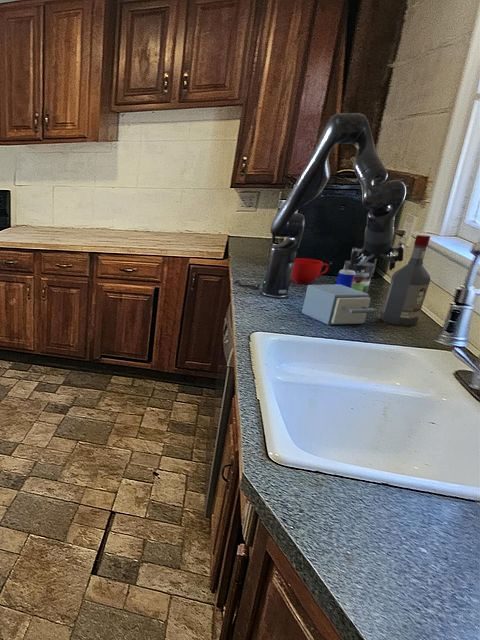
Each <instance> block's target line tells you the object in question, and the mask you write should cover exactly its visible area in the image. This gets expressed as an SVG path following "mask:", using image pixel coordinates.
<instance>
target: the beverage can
mask: <svg viewBox="0 0 480 640" xmlns="http://www.w3.org/2000/svg"><path fill="white" fill-rule="evenodd" d="M354 276H355V271H353V270H345V269H344V268H343V269H340V270H339V271H338V274H337V277H336V282H335V284H341V285H344V286H346V287H349V288H352V284H353V280H354Z"/></svg>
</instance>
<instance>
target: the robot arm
mask: <svg viewBox="0 0 480 640" xmlns="http://www.w3.org/2000/svg"><path fill="white" fill-rule="evenodd" d="M338 144H339V145H340V144H341V145H342V144H343V145H344V144H347V145H348V144H352V145H353V146H354V147H355V148H356V151H357V152H356V154H355V156H354V159H353V163H352V164H353V171H354V173H355V176H356V177H357V180H358V181H359V184H360V187H361V200H362V201H361V203H362V205H363V207H364V208H365V209H367V210H369V211H368V213H367V217H366V227H365V230H364V240H363V247H361V248H357V247H356V246H354V247H352V249H351V254H350V261H351V265H354V264H356V265H357V271H359V272H361V270H362V264H363V263H364V262H369V261H370V260H382V259H384V260H385V261H387V262H389V264H388V270H389V271H392V270H394V269H395V268H396V263H397V262H403V261H404V244H403V242H400V243H398V245H393V240H394V235H395V218H396V215H397V213H398V212H399V210H400V208H401V206H402V205H403V203H404V201H405V198H406V194H407V188H406V184H405V183H404V182H403V181H401V180H399V179H393V180H389V181H386V180H387V179H388V171H387V168H386V167H385V165H384V163H383V161H382V160H381V158H380V156H379V154H378V152H377V149H376V145H375V142H374V137H373V134H372V130H371V126H370V123H369V120H368V118H367V116H366V115H365V114H363V113H359V112H346V113H345V112H339V113H335V114H333V115H332V116H330V118H329V119H328V121H327V122H326V124H325V126H324V128H323V129H322V132H321V134H320V137H319V139H318V140H317V143H316V146H315V147H314V150H313V151H312V153H311V156H310V157H309V159H308V161H307V163H306V165H305V166H304V168H303V170H302V171H301V173H300V174H299V177H298V178H297V179H296V182H295V184H294V186H293V188H292V189H291V191H290V193H289V195H288V196H287V197H286V200H285V201H284V202H283V204H282V205H281V206H280V208H279V209H278V211H277V212H276V213H275V215H274V217H273V218H272V221H271V224H270V228H269V229H270V234H271V235H272V236H273V237H276V238H277V237H278V238H285V239H284V240H283V241H282V242H280V243H277V244H274V245H272V246H271V248H270V254H269V259H268V264H267V268H266V271H265V274H264V278H260V283H258V284H257V285H254V284H243V283H241V282H240V280H235V281H234V284H238V286H241V287H249V288H254V290H259V288H260V287H262V289H261V294H262V295H263V296H265V297H268V298H274V299H285V298H287V297H288V294H289V293H288V292H289V288H290V283H291V280H292V278H291V275H292V271H293V266H294V261H295V258H297V257H296V256H297V252H298V251H299V247H300V244H301V241H302V237H303V233H304V230H305V222H306V220H305V216H304V215H303V213H299V212H297V211H299V210H300V209H301V208H303V207H304V206H306V205H307V204H309V203H310V202H312V201H313V200H315V198H317V197H318V196H319V195H320V194H321V193H322V192H323V190H324V188H325V186H326V185H327V183H328V181H329V180H330V177H331V167H330V161H329V157H330V154H331V152H332V150H333V148H334V147H335V146H336V145H338ZM393 251H395V253H397V255H395V254H394V253H392V252H393ZM360 254H361V255H360Z"/></svg>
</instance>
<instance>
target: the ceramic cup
mask: <svg viewBox="0 0 480 640" xmlns="http://www.w3.org/2000/svg"><path fill="white" fill-rule="evenodd" d="M323 266H326V268H325V270H324V271H322V269H323ZM329 269H330V265H329V264H328V263H324V262H323V261H322V260H318V259H315V258H314V259H313V258H304V257H303V258H301V257H299V258H297V257H295V261H294V266H293V271H292V275H291V280H292V281H293V283H294V284H299V285H311V284H312V283H313V282H314V281H315V280H317V278H318V277H319V276H322V275H324V274H326V273H327V272H328V270H329ZM321 271H322V272H321Z"/></svg>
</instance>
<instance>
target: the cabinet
mask: <svg viewBox="0 0 480 640" xmlns="http://www.w3.org/2000/svg"><path fill="white" fill-rule="evenodd" d="M336 297H363V298H364V297H369V298H370V294H369V293H368V292H367V293H364V292H361V291H358V290H355V289H352V288H349V287H346V286H344V285H341V284H336V283H335V284H307V287H306V291H305V296H304V299H303V300H304V301H303V304H302V309H301V313H302V314H303V315H305V316H308V317H310V318H312V319H314V320H317V321H319V322H320V323H323V324H325V325H328V326H330V325H331V326H332V325H334V326H335V325H337V324H333V323H331V317H332V313H333V309H334V305H335V301H336ZM362 324H363V323H340V324H339V325H362Z"/></svg>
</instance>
